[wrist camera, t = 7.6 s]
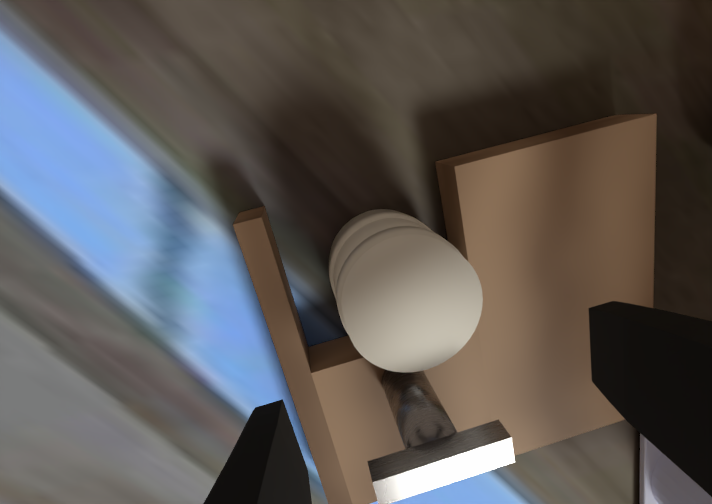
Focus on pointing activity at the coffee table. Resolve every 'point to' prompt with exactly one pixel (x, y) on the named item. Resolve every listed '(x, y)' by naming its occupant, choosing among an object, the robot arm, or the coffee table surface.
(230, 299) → the coffee table surface
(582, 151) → the shelf board
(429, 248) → the ribbed cream cylinder
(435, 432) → the hook post
